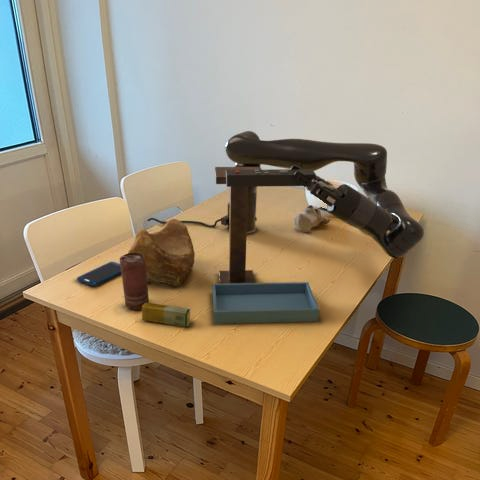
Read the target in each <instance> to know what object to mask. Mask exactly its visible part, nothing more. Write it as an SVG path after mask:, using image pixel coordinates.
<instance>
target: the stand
mask: <svg viewBox="0 0 480 480" xmlns="http://www.w3.org/2000/svg"><path fill="white" fill-rule="evenodd" d="M226 170H263V169H262V167H261V166H260V167H235V166H214V178H215V184H216V185H227V184H226ZM229 202H230V212H229V229H228V270H218V280H219V284H233V283H256V280H255V276H254V271H253V269H247V266H246V265H247V238H248V237H247V235H248V234H247V206H248V187H229ZM246 269H247V270H246Z"/></svg>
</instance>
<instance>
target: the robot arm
mask: <svg viewBox="0 0 480 480" xmlns="http://www.w3.org/2000/svg"><path fill="white" fill-rule="evenodd" d="M224 149H225V154H226V156H227V158H228V159H229V160H230V161H232V162H233V163H235V166H234V167H261V165H263V166H269V167H275V168H279V169H312V170H313V171H314V172H316V171H318V170H320V169H322V168H325V167H327V166H329V165H331V164H332V163H337V162H349V163H353V176H354V177H353V178H354V180H355V182H356V184H357V185H358V187H359V188H360V189H361V190H362V192H364V194H365V195H364V194H362V193H361V192H359V191H358V190H356V189H355V188H353V187H351V186H350V185H348V184H346V183H344V184H340V185H339V186H338V187H337V188H336V187H335V186H334V184H333V183H332V182H329V180H327V181H326V180H325V179H324V178H322V177H320V176H319V175H317V174H316V180H314V179H311V178H310V177H308V176H306V175H305V174H303V173H302V172H300V171H296V172H295V174H294V175H293V177H292V178H293V180H294V181H296V182H297V183H299V184H301V185H302V186H301V187H304V188H305V189H306V191H309V194H310V195H313V196H314V197H316V199H317V198H319V199H320V200H322V201H323V202H324V203H326V204H327V210H326V211H327V213H328V214H329V215H332V217H333V216H334V217H335V218H337V219H338V220H340V221H342V222H343V223H345V224H346V225H349V226H351V227H353V228H356V229H357V230H359V231H361V232H363V233H364V234H366V235H367V236H369V237H371V238H372V240H373V241H374V242H375V243H376V244H378V245H379V247H381V249H382V250H383V251H384V253H385V254H386V255H388V256H389V257H390V258H393V259H402V258H403V257H405V256H406V255H407V254H408V253H409V252H410V251H411V250H413V249H414V248H415V247H416V246H417V245H418V244H419V243H420V242H421V241H422V240H423V239H424V236H425V229H424V227H423V225H422V224H421V223H420V222H419V221H418V220H417V219H415V218H414V217H413V216H411V215H410V213H408V211H407V210H406V207H405V206H404V204H403V202H402V200H401V198H400V197H399V195H398V194H397V193H396V192H395V191H393V190H391V189H389V188H388V185H387V181H386V174H387V165H388V151H387V149H386V148H385V147H384V146H383V145H380V144H377V143H369V142H355V143H354V142H332V141H321V140H320V141H319V140H315V139H304V138H283V139H272V140H261V139H260V136H259V135H258V134H257V133H256V132H254V131H252V130H245V131H242V132H239V133H236V134H234V135H232V136H231V137H230V138H229V139H228V140H227V142H226V144H225V146H224ZM257 196H258V187H248V206H247V235H249V234H252V233H255V232H256V230H257V229H256V228H257V226H256V222H257V221H258V219H257V218H258V217H257V201H258V200H257V198H258V197H257ZM229 212H230V201H229V202H228V203H227V214H226V215H224V216H222V217H220V218H219V219H217V220H215V222H214V224H207V223H204V222H202V221H196V220H180V221H181V222H182V223H183V224H197V225H201V226H203V227H207V228H215V227H216V226H217V224H218V223H219V222H220V225H222V226H226V227H227V230H229ZM150 221H155V222H157V223H160V224H166V222H167V221H168V220H165V221H163V220H159V219H157V218H155V217H150V218H148V219H147V220H146V222H150Z"/></svg>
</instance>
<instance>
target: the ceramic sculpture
mask: <svg viewBox="0 0 480 480" xmlns="http://www.w3.org/2000/svg"><path fill="white" fill-rule="evenodd" d="M331 220H332V218H326V217H322V213H321V210H320V208H317V207H314V206H313V205H312V204H311V205H308V206H306V207H305V208H304V209H303V210H302V211H301V212H300V213H298V214H296V216H295V217H294V225H295V228H296V229H297V230H298V231H300V232H302V233H303V232H305V233H307V232H310V231H311V229H313V228H316V227H318V226H319V227H322V226H326V225H328V224H329V223H330V221H331Z"/></svg>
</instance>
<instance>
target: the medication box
mask: <svg viewBox="0 0 480 480" xmlns="http://www.w3.org/2000/svg"><path fill="white" fill-rule="evenodd" d="M141 315H142V316H141V320H142V321H147V322H152V323H159V324H166V325H171V326H179V327H184V328H188V327H189V326H190V323H191V309H190V308H186V307H180V306H174V305H173V306H172V305H166V304H159V303H151V302H149V303H144V304H143V306H142V310H141Z"/></svg>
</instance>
